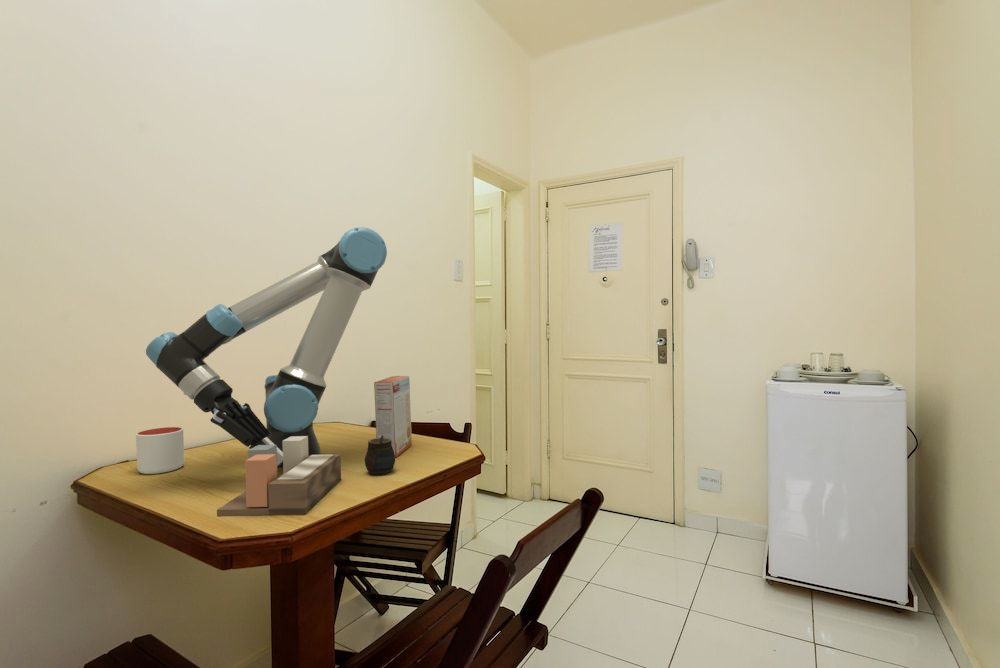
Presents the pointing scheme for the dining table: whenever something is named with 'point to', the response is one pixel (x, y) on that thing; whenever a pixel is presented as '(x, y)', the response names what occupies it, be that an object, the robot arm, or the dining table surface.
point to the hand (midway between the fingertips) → (281, 461)
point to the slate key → (263, 451)
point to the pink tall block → (259, 479)
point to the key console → (293, 489)
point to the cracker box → (394, 412)
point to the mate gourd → (380, 456)
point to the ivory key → (294, 451)
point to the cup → (160, 450)
